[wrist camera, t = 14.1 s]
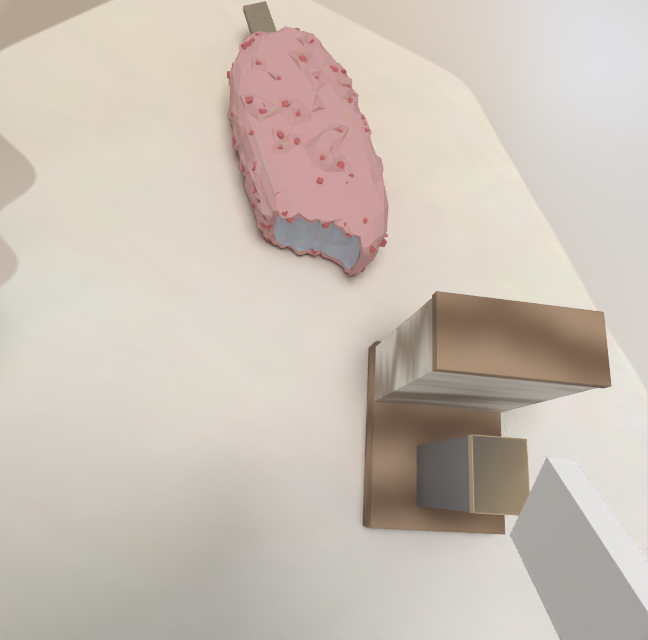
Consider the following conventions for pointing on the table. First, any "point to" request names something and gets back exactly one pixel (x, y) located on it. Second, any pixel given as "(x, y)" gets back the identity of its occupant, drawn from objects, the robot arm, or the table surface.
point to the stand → (465, 390)
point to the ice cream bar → (305, 146)
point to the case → (474, 475)
